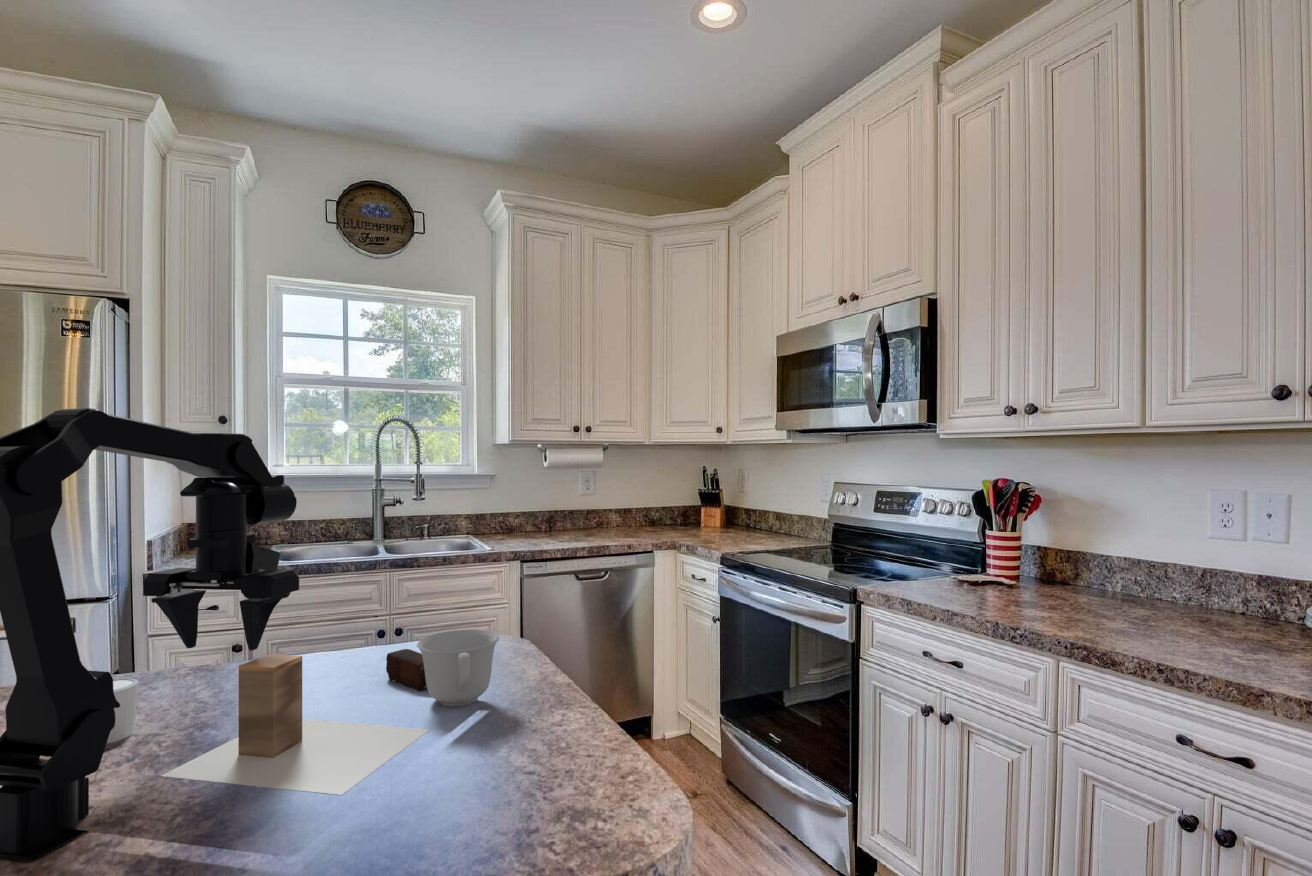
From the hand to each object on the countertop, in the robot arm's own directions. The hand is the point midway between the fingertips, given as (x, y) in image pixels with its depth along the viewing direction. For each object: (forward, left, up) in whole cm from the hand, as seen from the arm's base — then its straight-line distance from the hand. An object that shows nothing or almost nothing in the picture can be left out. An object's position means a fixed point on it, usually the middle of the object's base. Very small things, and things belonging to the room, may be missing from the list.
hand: (222, 648), depth 89 cm
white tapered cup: (0, +19, -13) cm, 23 cm away
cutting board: (-1, -13, -13) cm, 18 cm away
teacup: (+18, -24, -13) cm, 33 cm away
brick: (+28, -10, -13) cm, 33 cm away
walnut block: (-1, -8, -12) cm, 14 cm away
